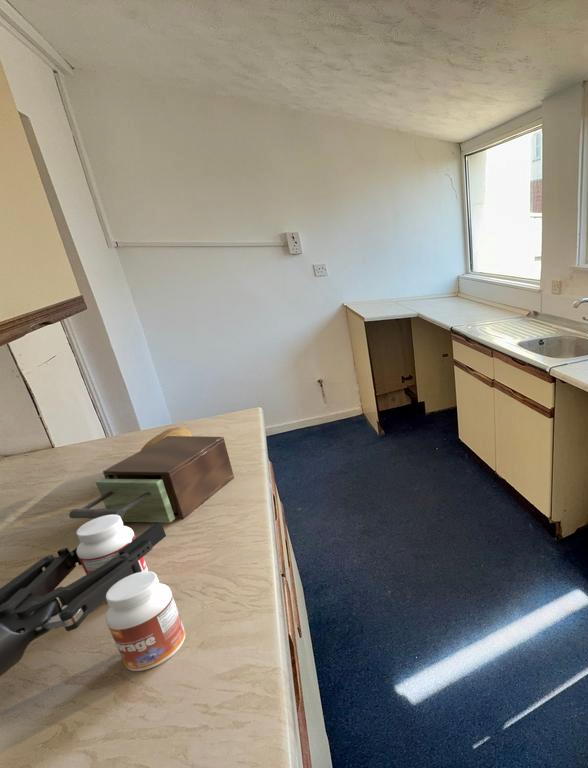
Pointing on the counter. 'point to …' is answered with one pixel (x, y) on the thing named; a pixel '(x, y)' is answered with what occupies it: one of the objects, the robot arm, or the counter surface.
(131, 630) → the pill bottle
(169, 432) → the potato
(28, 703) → the counter surface
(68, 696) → the counter surface
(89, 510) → the drawer
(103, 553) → the pill bottle
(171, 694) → the counter surface
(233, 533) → the counter surface
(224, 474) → the cabinet
